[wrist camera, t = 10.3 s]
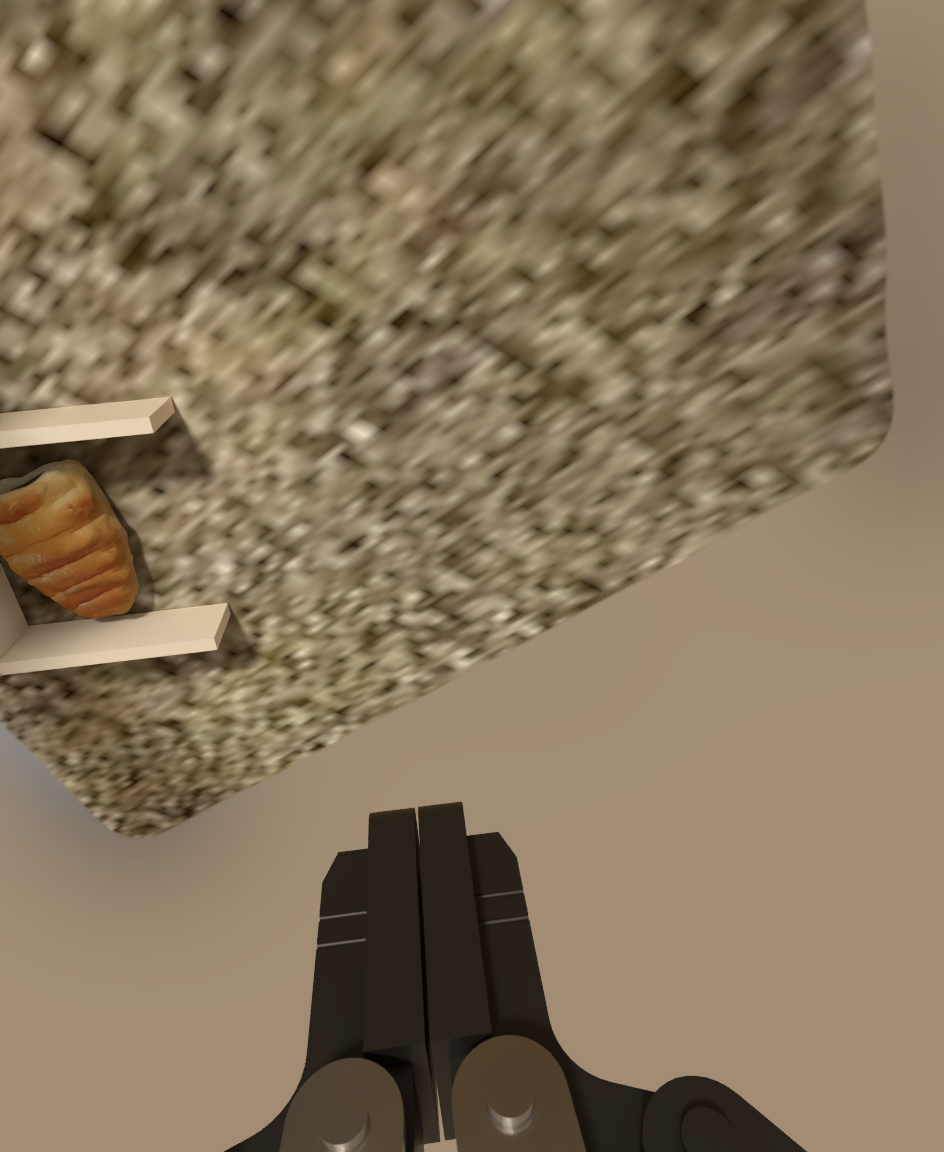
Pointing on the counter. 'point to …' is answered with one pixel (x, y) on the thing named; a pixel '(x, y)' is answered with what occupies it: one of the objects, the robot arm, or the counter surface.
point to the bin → (19, 648)
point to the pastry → (67, 540)
